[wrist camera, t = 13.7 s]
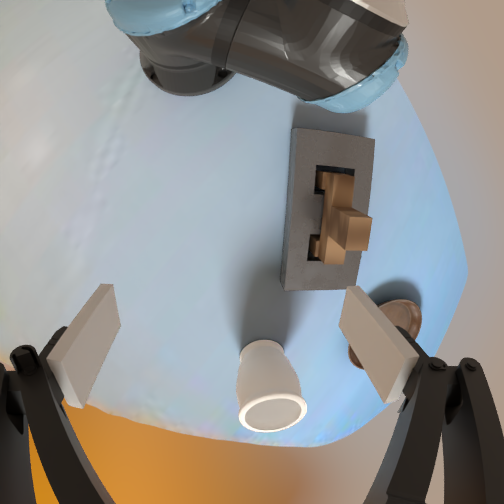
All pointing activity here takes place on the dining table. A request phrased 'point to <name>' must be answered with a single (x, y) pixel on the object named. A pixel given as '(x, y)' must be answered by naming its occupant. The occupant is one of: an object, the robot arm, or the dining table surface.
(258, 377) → the jar
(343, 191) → the brown wooden branched block
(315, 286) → the grey slotted base block
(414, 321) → the plant saucer
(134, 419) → the dining table surface
